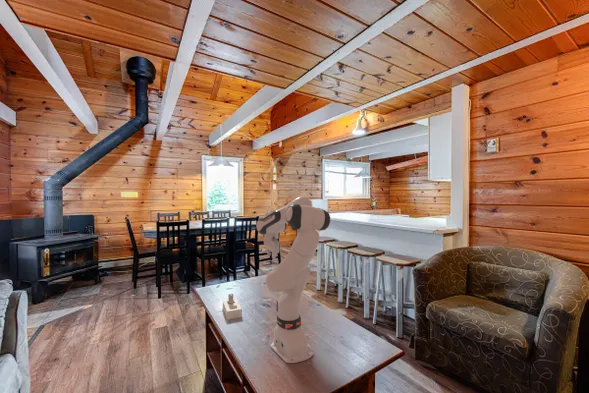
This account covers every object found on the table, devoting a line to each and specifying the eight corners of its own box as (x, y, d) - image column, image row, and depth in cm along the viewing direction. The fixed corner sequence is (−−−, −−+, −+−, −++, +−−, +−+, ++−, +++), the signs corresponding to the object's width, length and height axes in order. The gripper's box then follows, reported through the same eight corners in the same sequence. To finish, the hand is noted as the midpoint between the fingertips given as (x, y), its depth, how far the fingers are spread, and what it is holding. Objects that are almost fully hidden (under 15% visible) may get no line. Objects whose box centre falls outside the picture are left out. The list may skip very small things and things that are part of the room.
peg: (233, 310, 164) (233, 295, 164) (228, 311, 163) (228, 295, 162) (232, 308, 167) (232, 293, 166) (228, 309, 165) (228, 294, 165)
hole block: (241, 316, 156) (242, 308, 156) (226, 319, 152) (226, 311, 152) (236, 306, 170) (236, 298, 170) (222, 308, 167) (222, 300, 166)
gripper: (282, 238, 156) (281, 260, 157) (271, 233, 175) (270, 253, 175) (272, 239, 154) (272, 261, 154) (262, 233, 172) (262, 254, 173)
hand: (271, 257), depth 165 cm, fingers open, 8 cm apart
